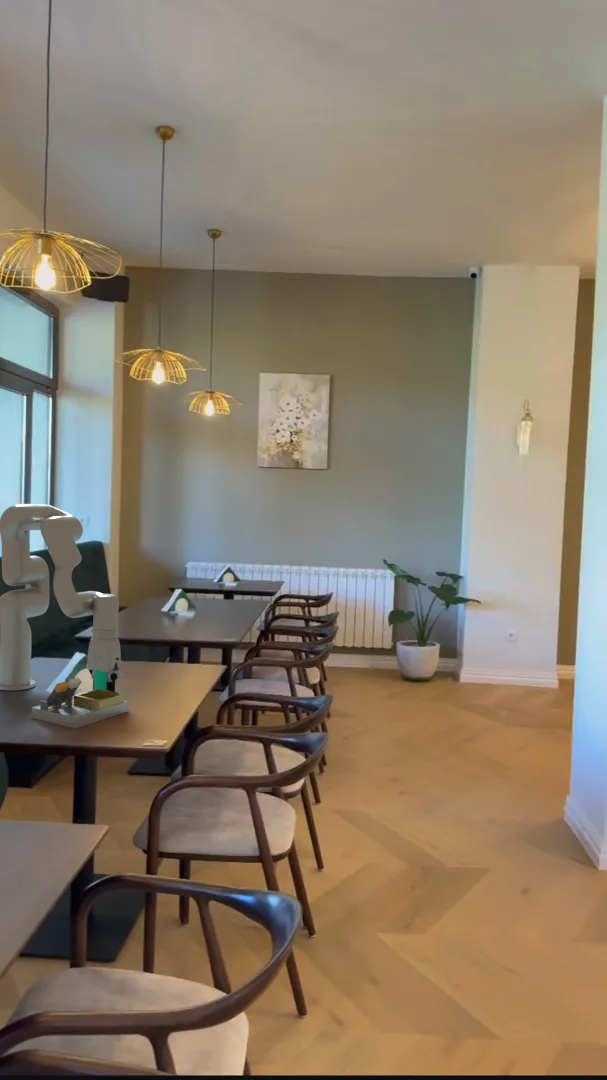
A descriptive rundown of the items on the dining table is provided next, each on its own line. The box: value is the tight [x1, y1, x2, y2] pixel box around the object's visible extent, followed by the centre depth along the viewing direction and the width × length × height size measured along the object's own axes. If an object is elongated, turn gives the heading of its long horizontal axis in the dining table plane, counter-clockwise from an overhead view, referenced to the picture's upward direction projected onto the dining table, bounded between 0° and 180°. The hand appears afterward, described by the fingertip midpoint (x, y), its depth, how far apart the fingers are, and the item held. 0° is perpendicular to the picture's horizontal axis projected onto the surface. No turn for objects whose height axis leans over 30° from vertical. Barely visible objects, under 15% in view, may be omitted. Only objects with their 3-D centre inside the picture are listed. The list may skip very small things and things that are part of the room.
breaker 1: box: [46, 681, 69, 708], centre depth 214 cm, size 2×3×9 cm
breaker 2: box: [61, 677, 82, 704], centre depth 219 cm, size 2×3×9 cm
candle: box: [94, 669, 114, 690], centre depth 236 cm, size 6×6×12 cm
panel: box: [31, 689, 129, 730], centre depth 221 cm, size 17×21×6 cm
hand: (103, 691), depth 236 cm, fingers closed on candle, 4 cm apart
